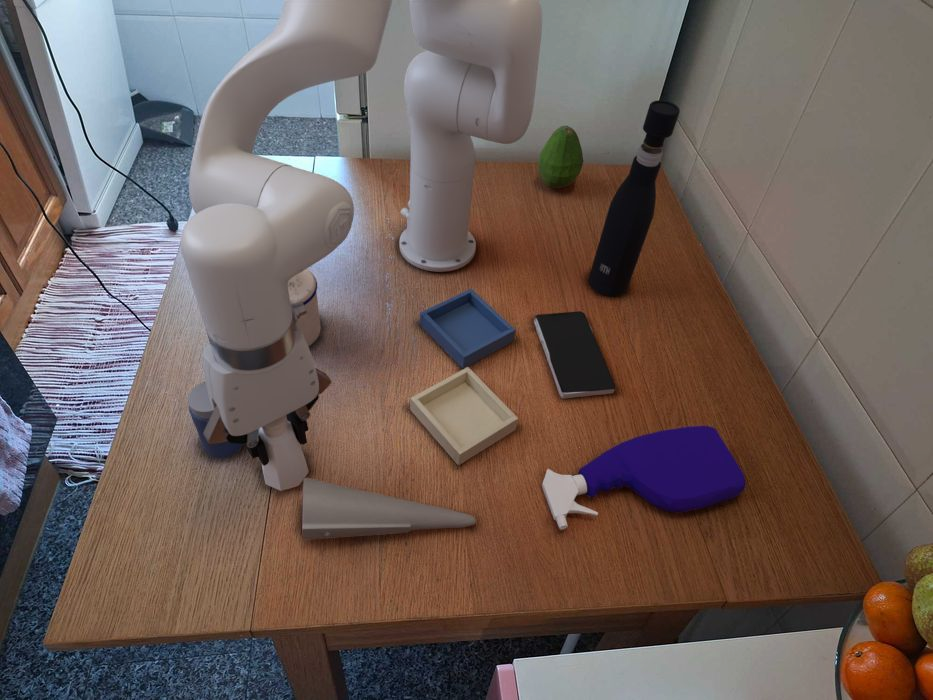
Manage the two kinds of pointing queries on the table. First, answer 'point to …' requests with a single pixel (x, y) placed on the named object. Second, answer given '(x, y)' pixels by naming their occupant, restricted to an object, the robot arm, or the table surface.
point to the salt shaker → (282, 455)
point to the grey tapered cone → (368, 513)
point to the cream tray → (463, 415)
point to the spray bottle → (654, 473)
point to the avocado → (561, 158)
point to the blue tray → (467, 327)
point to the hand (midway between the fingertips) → (279, 444)
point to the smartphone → (573, 355)
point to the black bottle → (632, 207)
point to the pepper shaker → (201, 415)
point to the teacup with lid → (306, 303)
